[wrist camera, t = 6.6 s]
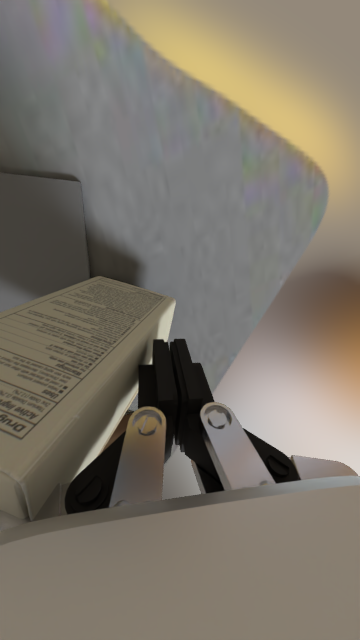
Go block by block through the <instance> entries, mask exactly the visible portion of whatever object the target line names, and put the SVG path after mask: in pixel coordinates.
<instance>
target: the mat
mask: <svg viewBox="0 0 360 640" xmlns="http://www.w3.org/2000/svg"><path fill="white" fill-rule="evenodd" d="M89 279H91V277H90V267H89V257H88V248H87V238H86V228H85V218H84V209H83V199H82V189H81V182H77V181H69V180H60V179H51V178H43V177H34V176H25V175H17V174H8V173H0V312H3V311H5V310H8V309H11V308H14V307H17V306H19V305H22V304H24V303H27V302H30V301H32V300H35V299H38V298H40V297H43V296H46V295H48V294H51V293H54V292H56V291H59V290H62V289H65V288H67V287H70V286H73V285H75V284H78V283H81V282H83V281H86V280H89Z"/></svg>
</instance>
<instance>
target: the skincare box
mask: <svg viewBox="0 0 360 640" xmlns="http://www.w3.org/2000/svg"><path fill="white" fill-rule="evenodd" d="M175 303H176V301H175V299H174V298H172V297H168V296H165V295H162V294H159V293H156V292H153V291H150V290H147V289H143V288H140V287H137V286H133V285H130V284H127V283H123V282H120V281H117V280H113V279H109V278H105V277H102V276H97V277H94V278H91V279H89V280H86V281H83V282H81V283H78V284H75V285H73V286H70V287H67V288H65V289H62V290H59V291H56V292H54V293H51V294H48V295H46V296H43V297H40V298H38V299H35V300H32V301H30V302H27V303H24V304H22V305H19V306H17V307H14V308H11V309H8V310H5V311H3V312H0V510H2V511H4V512H7V513H9V514H11V515H13V516H15V517H18V518H20V519H24V518H26V517H27V516H29V517H30V520H31V521H32V520H33V519H34V518H35V516H36V515H37V513H38V512H39V510H40V509H41V507H42V506H43V504H44V503H45V502H46V500H47V499H48V497H49V496H50V494H51V493H52V491H53V490H54V488H55V487H56V485H57V484H58V483H60V484H61V485H63V484H66V483H69V482H72V481H73V480H74V478H75V477H76V476H77V475H78V474H79V473H80V472H81V471H82V470H84V469H85V468H86V467H87V466H88V465H89V464H90V463H91V462H92V461H93V460H94V459H95V458H96V457H98V456H99V455H100V453H101V452H102V450H103V449H104V447H105V445H106V444H107V442H108V440H109V439H110V437H111V435H112V434H113V432H114V431H115V429H116V427H117V426H118V424H119V422H120V421H121V419H122V417H123V416H124V414H125V412H126V411H127V409H128V408H129V406H130V404H131V403H132V401H133V400H134V398H135V396H136V394H137V393H138V375H139V365H146V364H152V352H153V339H164V342H167V339H168V335H169V331H170V327H171V322H172V318H173V313H174V308H175Z"/></svg>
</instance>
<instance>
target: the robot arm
mask: <svg viewBox="0 0 360 640" xmlns="http://www.w3.org/2000/svg"><path fill="white" fill-rule="evenodd" d="M173 438H175V444H176V445H180V450H181V452H185V455H186V456H188V457H189V458H190V459H191V463H192V467H193V470H194V473H195V476H196V479H197V482H198V485H199V488H200V491H201V494H200V495H193V496H186V497H179V498H172V499H165V500H162V490H163V472H164V464H165V463H166V461H167V460H168V459H169V457H170V455H171V447H172V445H173ZM0 640H360V476H358V475H357V473H356V472H355V471H353V470H352V469H351V468H350V467H348V466H347V465H345V464H343V463H340V462H337V461H330V460H324V459H316V458H309V457H302V456H295V455H292V456H291V457H287V456H286V455H285V454H283V453H282V452H281V451H279V450H277V449H276V448H274V447H273V446H271V445H269V444H267V443H266V442H265V441H263V440H261V439H260V438H258V437H257V436H255V435H253V434H252V433H250V432H248V431H247V430H245V429H244V428H242V426H241V425H240V423H239V421H238V420H237V418H236V417H235V415H234V413H233V412H232V411H231V409H230V408H228V407H227V406H226V405H224V404H221V403H217V402H214V400H213V396H212V393H211V391H210V388H209V385H208V382H207V379H206V377H205V374H204V371H203V368H202V366H201V364H200V363H192V360H191V357H190V354H189V351H188V347H187V344H186V341H185V339H174V342H170V351H169V346H168V342H164V339H153V352H152V364H146V365H139V375H138V409H137V410H136V411H135V412H133V414H132V415H131V416H130V418H129V421H128V425H127V430H126V431H125V432H123V433H122V434H121V435H120V436H119V437H118V438H117V439H116V440H115V441H114V442H113V443H112V444H111V445H109V446H108V447H107V448H106V449H105V450H104V451H103V452H102V453H101V454H100V455H99V456H98V457H96V458H95V459H94V460H93V461H92V462H91V463H90V464H89V465H88V466H87V467H86V468H85V469H84V470H82V471H81V472H80V473H79V474H78V475H77V476H76V477H75V478H74V480H73V481H72V482H69V483H66V484H63V485H61V484H60V483H58V484H57V485H56V487H55V488H54V490H53V491H52V493H51V494H50V496H49V497H48V499H47V500H46V502H45V503H44V504H43V506H42V507H41V509H40V510H39V512H38V513H37V515H36V516H35V518H34V519H33V520H32V521H31V520H30V517H29V516H27V517H26V518H24V519H20V518H18V517H15V516H13V515H11V514H9V513H7V512H4V511H2V510H0Z"/></svg>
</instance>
